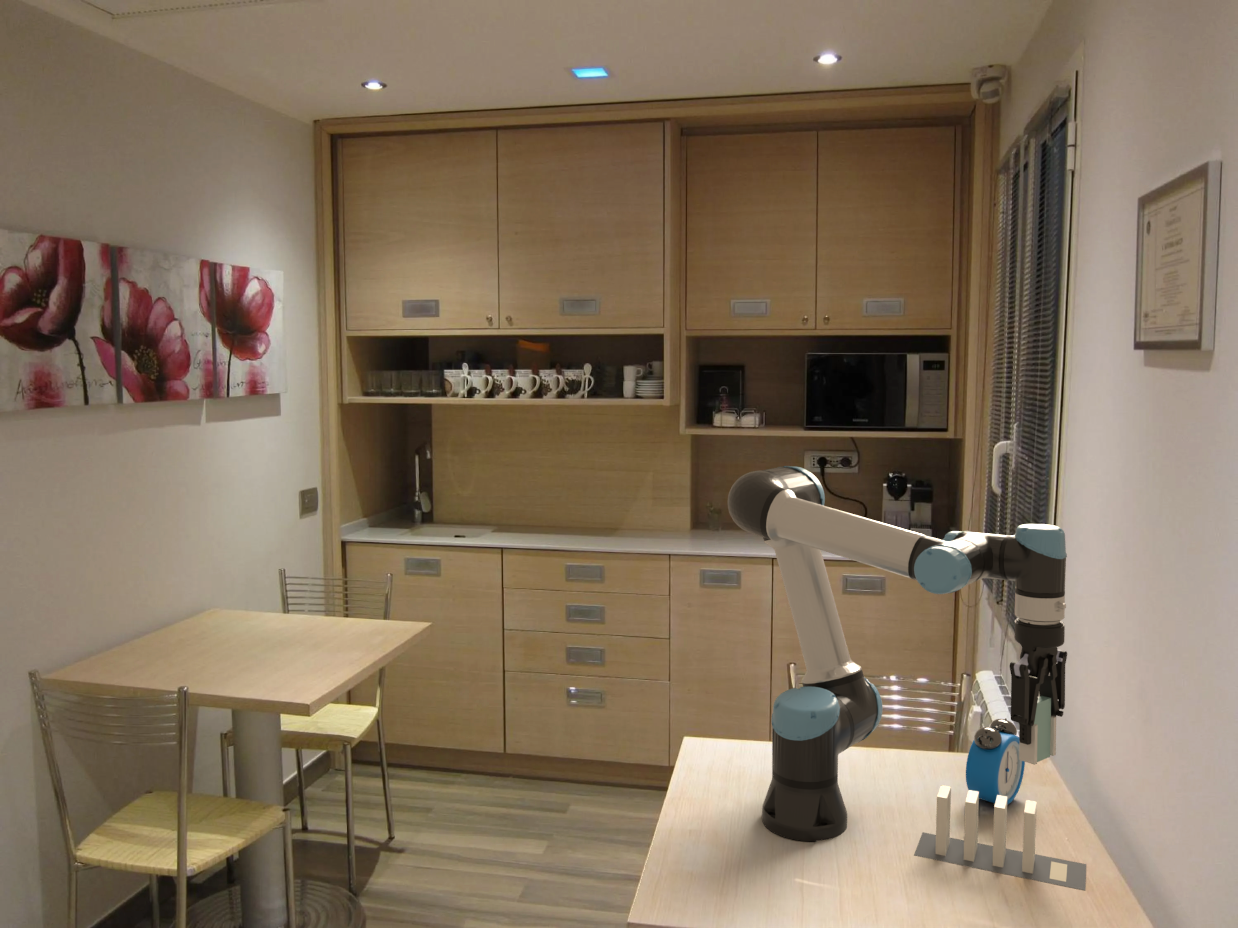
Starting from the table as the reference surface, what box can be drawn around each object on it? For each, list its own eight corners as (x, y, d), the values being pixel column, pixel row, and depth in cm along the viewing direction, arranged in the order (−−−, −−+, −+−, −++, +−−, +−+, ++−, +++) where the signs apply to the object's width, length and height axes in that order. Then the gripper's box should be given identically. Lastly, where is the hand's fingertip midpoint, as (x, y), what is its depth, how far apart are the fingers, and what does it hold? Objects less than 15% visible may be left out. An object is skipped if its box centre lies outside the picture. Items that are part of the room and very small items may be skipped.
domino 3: (992, 865, 160) (994, 806, 159) (995, 851, 165) (997, 794, 164) (1002, 867, 159) (1004, 808, 158) (1005, 853, 164) (1007, 796, 163)
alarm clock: (995, 816, 178) (997, 737, 177) (962, 806, 182) (964, 728, 181) (1024, 794, 187) (1027, 718, 186) (993, 785, 192) (995, 710, 190)
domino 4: (1022, 871, 158) (1024, 811, 157) (1024, 857, 163) (1026, 799, 162) (1032, 873, 157) (1034, 813, 156) (1034, 859, 162) (1036, 801, 161)
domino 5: (1050, 756, 163) (1051, 697, 162) (1033, 763, 160) (1034, 704, 159) (1041, 753, 164) (1042, 695, 163) (1024, 760, 161) (1025, 701, 160)
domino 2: (963, 859, 162) (965, 801, 161) (967, 846, 167) (968, 789, 166) (973, 861, 161) (975, 803, 160) (977, 848, 166) (978, 791, 165)
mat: (913, 856, 164) (913, 854, 164) (922, 833, 172) (922, 831, 172) (1085, 892, 152) (1085, 890, 152) (1086, 865, 160) (1086, 863, 160)
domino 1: (935, 853, 164) (936, 796, 163) (939, 840, 169) (941, 784, 168) (945, 855, 163) (946, 798, 162) (949, 842, 168) (951, 786, 167)
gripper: (1030, 633, 151) (1028, 778, 153) (1090, 614, 162) (1087, 750, 164) (987, 624, 157) (985, 764, 159) (1047, 606, 168) (1045, 738, 170)
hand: (1037, 756), depth 162 cm, fingers closed on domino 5, 5 cm apart
